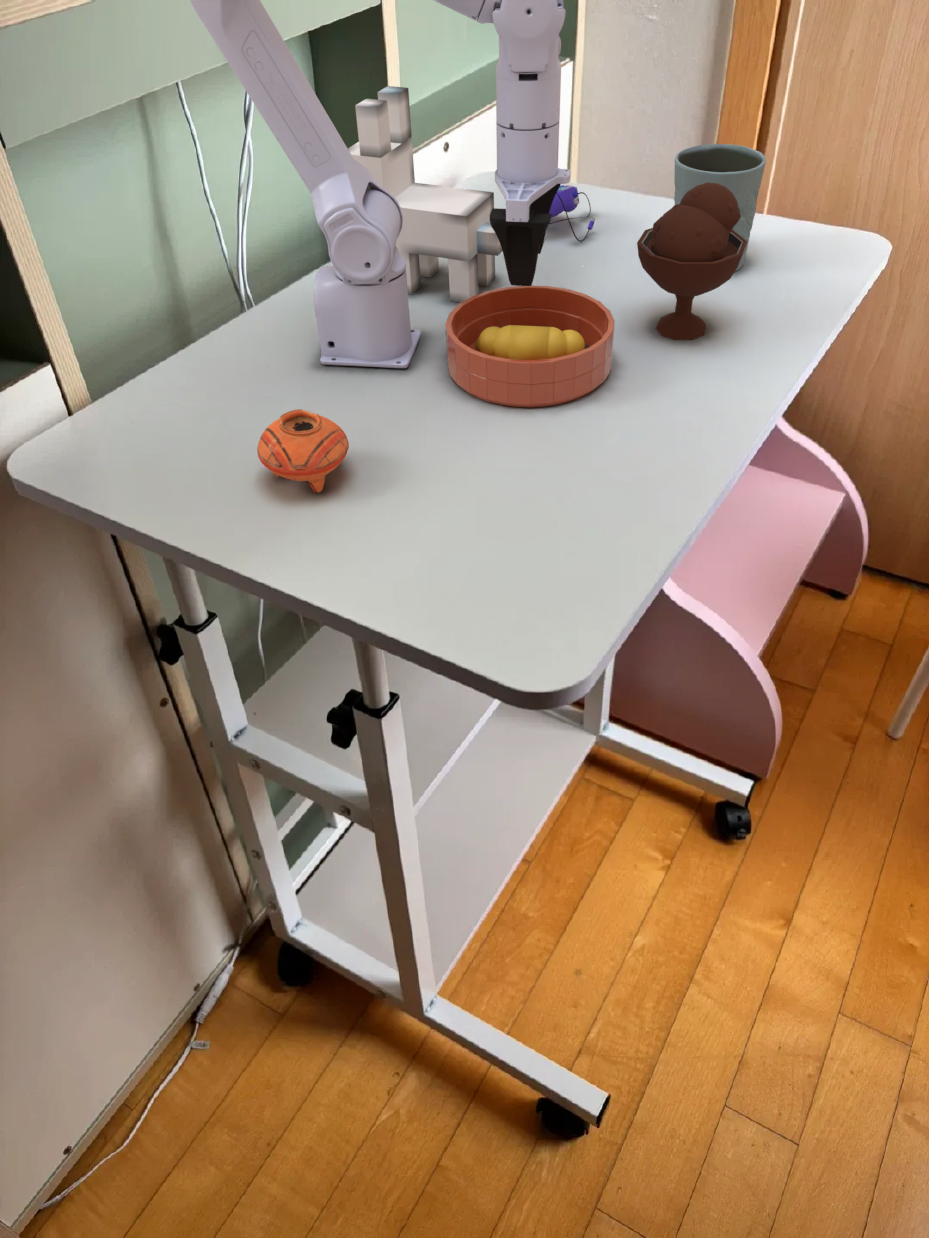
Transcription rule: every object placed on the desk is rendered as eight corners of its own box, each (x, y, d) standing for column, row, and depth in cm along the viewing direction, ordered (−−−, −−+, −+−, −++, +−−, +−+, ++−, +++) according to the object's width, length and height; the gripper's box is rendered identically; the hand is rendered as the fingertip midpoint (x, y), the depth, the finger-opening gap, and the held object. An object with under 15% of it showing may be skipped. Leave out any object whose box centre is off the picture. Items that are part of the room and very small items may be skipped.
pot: (297, 439, 90) (301, 380, 85) (361, 480, 88) (369, 422, 83) (237, 478, 85) (237, 418, 80) (303, 523, 83) (308, 464, 78)
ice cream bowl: (661, 297, 110) (677, 160, 100) (750, 323, 105) (776, 181, 94) (610, 333, 104) (621, 190, 94) (702, 362, 99) (724, 214, 89)
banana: (469, 368, 99) (468, 334, 96) (476, 347, 102) (475, 314, 99) (587, 374, 97) (589, 339, 94) (590, 353, 100) (592, 319, 97)
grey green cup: (743, 282, 112) (761, 175, 104) (657, 274, 115) (668, 169, 106) (752, 248, 119) (770, 145, 111) (670, 241, 122) (682, 140, 113)
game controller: (507, 187, 127) (581, 165, 126) (522, 251, 130) (593, 230, 129) (514, 190, 118) (593, 166, 117) (530, 258, 121) (607, 235, 121)
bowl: (434, 404, 95) (432, 358, 91) (462, 326, 107) (460, 282, 103) (606, 414, 92) (609, 367, 89) (614, 332, 104) (618, 288, 101)
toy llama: (489, 307, 110) (486, 118, 96) (356, 285, 115) (334, 103, 102) (514, 281, 115) (514, 97, 101) (384, 261, 120) (368, 84, 106)
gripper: (564, 148, 81) (558, 301, 90) (579, 98, 91) (572, 240, 101) (481, 146, 82) (484, 298, 91) (505, 97, 92) (506, 238, 102)
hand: (526, 268), depth 96 cm, fingers open, 7 cm apart
